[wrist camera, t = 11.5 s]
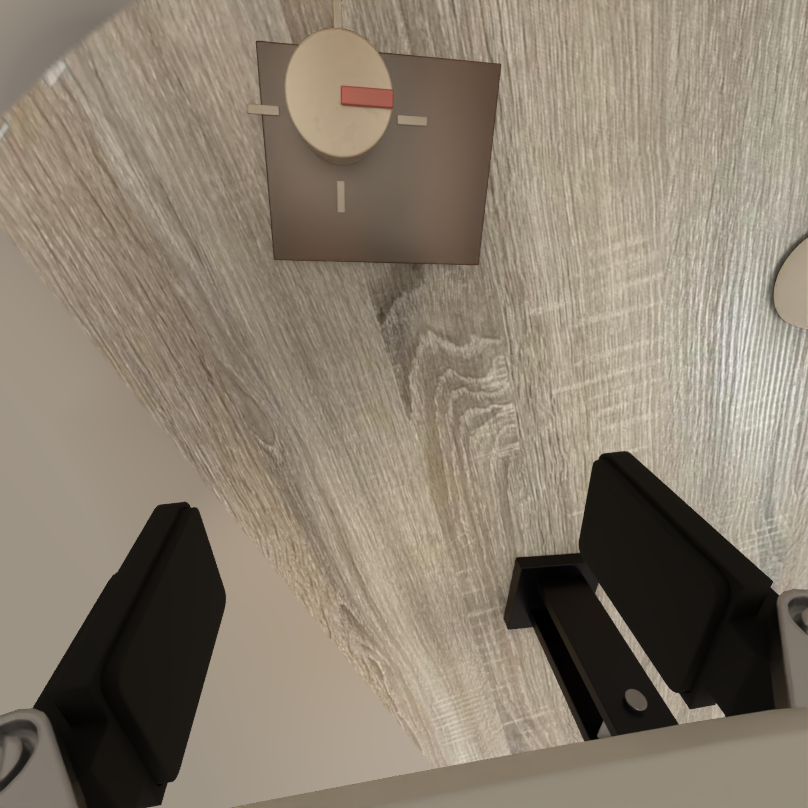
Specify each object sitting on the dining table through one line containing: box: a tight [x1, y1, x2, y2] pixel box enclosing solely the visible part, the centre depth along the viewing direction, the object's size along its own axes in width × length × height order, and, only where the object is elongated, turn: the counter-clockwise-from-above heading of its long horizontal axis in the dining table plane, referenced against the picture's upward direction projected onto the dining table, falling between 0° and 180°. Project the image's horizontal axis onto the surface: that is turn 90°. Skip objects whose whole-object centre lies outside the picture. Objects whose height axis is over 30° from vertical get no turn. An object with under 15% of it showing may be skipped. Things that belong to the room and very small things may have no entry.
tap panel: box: [247, 0, 501, 265], centre depth 22 cm, size 12×11×3 cm
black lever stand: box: [504, 553, 679, 741], centre depth 35 cm, size 8×8×14 cm
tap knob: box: [285, 28, 394, 165], centre depth 18 cm, size 4×4×5 cm
